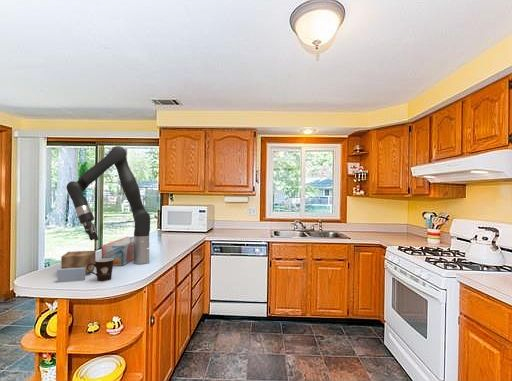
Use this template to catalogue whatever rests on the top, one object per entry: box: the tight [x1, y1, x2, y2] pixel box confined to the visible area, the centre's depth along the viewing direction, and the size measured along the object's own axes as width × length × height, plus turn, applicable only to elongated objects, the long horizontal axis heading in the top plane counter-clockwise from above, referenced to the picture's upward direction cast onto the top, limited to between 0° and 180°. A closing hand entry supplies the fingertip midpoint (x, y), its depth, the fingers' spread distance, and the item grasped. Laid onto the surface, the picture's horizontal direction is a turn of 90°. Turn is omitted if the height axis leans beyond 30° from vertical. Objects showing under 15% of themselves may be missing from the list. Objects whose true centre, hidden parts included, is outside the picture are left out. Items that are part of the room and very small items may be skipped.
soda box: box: [101, 236, 134, 267], centre depth 210 cm, size 41×14×13 cm, turn 2°
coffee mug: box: [87, 258, 114, 282], centre depth 162 cm, size 12×9×10 cm
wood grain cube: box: [60, 250, 96, 273], centre depth 175 cm, size 14×14×9 cm
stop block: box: [56, 267, 86, 283], centre depth 160 cm, size 12×2×6 cm, turn 108°
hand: (94, 240), depth 181 cm, fingers open, 8 cm apart
